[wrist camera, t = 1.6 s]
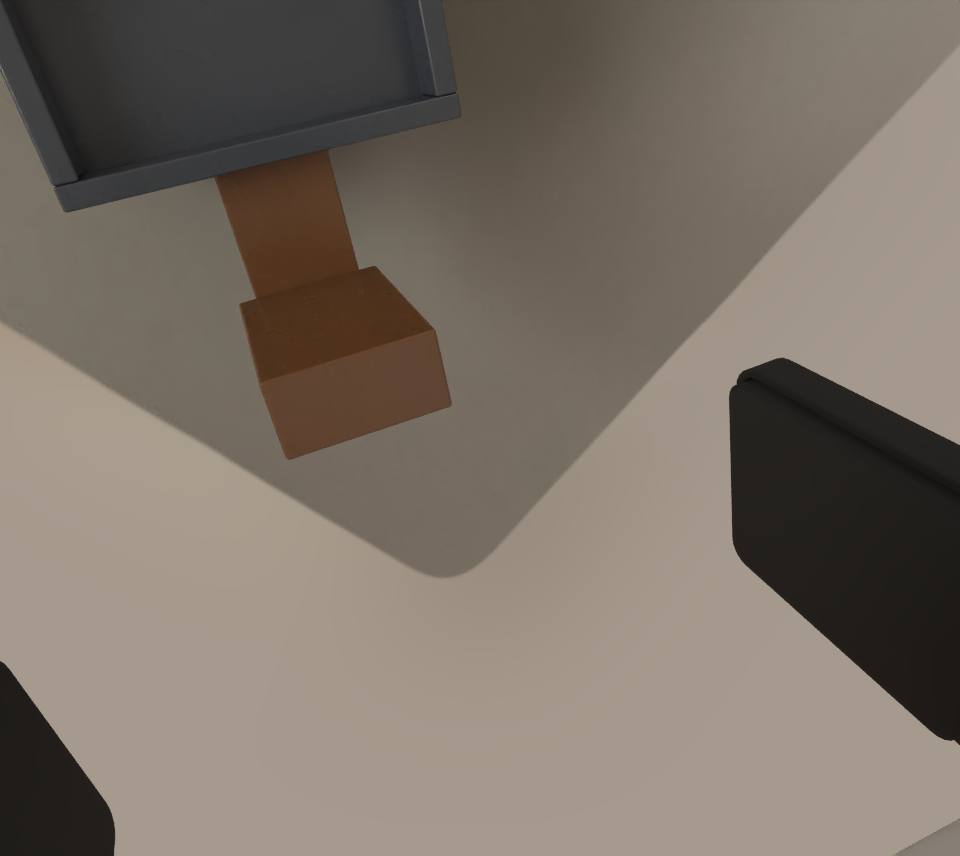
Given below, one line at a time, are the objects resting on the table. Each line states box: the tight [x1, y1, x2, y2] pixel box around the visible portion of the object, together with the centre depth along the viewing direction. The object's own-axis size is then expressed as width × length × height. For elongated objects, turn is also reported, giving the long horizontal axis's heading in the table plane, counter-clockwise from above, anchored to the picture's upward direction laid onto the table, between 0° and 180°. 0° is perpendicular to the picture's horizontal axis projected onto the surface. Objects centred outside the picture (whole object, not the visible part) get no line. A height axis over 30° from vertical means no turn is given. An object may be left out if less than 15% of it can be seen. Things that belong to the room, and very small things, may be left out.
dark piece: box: [0, 0, 462, 460], centre depth 16 cm, size 18×10×7 cm, turn 11°
